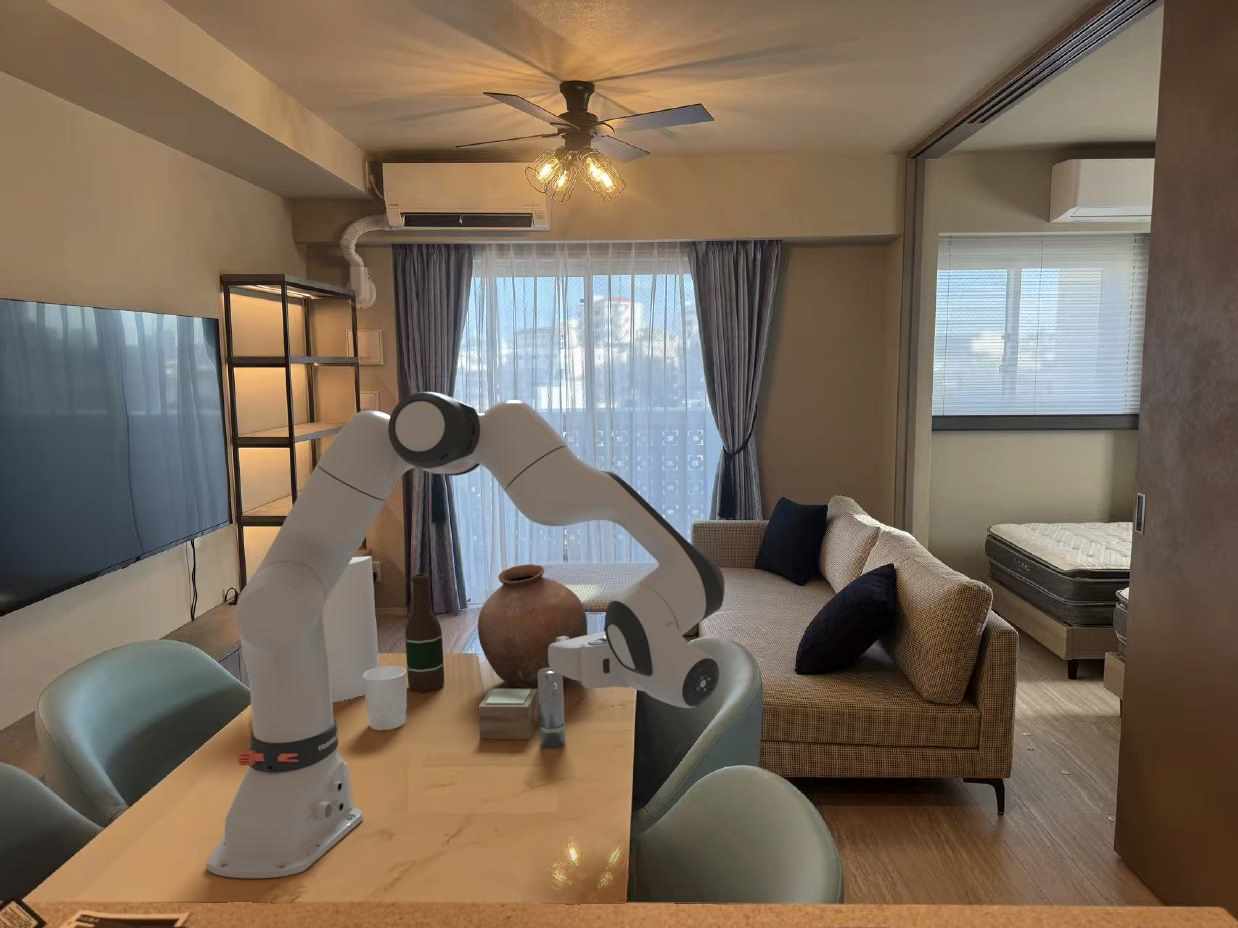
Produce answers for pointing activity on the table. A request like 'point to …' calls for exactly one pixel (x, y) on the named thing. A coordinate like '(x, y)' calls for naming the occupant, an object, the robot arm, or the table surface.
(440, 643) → the beer bottle
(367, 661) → the cylinder
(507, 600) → the pottery
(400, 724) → the white cup
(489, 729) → the stand block
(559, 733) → the grey cylindrical bottle
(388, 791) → the table surface
